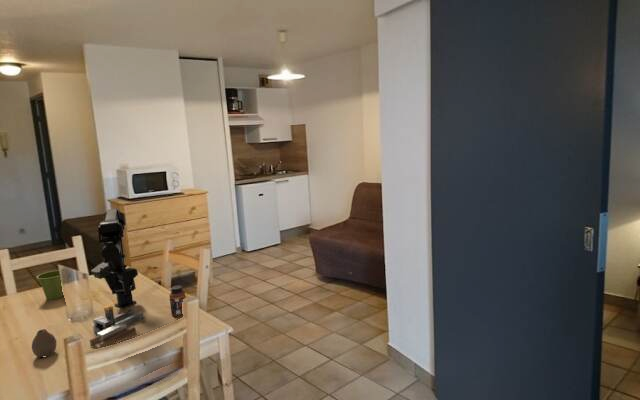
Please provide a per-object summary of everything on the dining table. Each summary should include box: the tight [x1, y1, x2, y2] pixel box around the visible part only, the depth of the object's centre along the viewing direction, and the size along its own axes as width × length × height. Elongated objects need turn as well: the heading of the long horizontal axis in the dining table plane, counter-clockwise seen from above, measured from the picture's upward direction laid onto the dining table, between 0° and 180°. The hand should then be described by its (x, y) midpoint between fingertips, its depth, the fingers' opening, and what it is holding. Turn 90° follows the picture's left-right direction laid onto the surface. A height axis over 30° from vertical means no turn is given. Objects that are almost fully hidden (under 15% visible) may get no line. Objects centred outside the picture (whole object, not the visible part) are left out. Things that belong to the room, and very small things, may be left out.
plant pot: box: [36, 269, 64, 300], centre depth 190 cm, size 12×12×11 cm
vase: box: [31, 328, 57, 358], centre depth 138 cm, size 7×7×9 cm
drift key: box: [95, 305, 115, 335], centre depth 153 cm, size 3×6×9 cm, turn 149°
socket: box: [92, 308, 145, 334], centre depth 158 cm, size 8×16×5 cm, turn 149°
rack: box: [89, 326, 137, 349], centre depth 147 cm, size 7×13×2 cm, turn 149°
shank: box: [96, 322, 128, 343], centre depth 146 cm, size 3×9×4 cm, turn 149°
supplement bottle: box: [169, 285, 186, 317], centre depth 164 cm, size 6×6×11 cm
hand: (119, 292), depth 160 cm, fingers open, 9 cm apart
